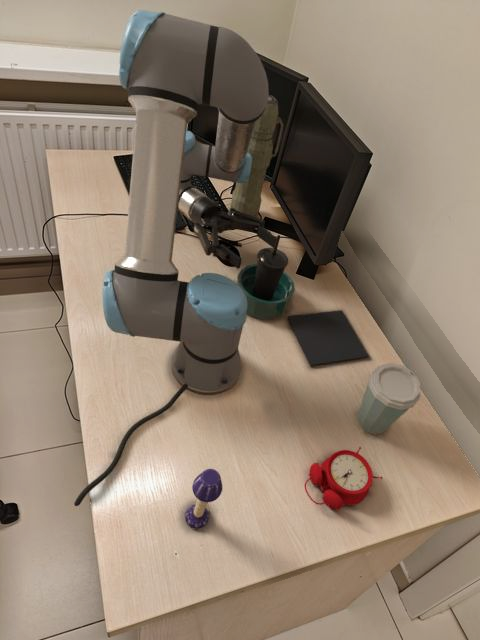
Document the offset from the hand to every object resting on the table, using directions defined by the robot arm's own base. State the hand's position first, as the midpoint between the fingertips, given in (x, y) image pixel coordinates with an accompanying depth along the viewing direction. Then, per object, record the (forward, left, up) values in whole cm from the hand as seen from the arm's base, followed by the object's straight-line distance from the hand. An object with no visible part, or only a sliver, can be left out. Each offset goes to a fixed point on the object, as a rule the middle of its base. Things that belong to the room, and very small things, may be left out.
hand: (259, 253), depth 113 cm
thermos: (+33, +8, -12) cm, 36 cm away
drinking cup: (-3, -3, -12) cm, 13 cm away
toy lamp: (-62, 0, -12) cm, 63 cm away
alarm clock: (-49, -25, -12) cm, 57 cm away
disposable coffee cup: (-33, -32, -12) cm, 47 cm away
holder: (-11, -21, -12) cm, 27 cm away
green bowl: (-3, -3, -12) cm, 13 cm away
